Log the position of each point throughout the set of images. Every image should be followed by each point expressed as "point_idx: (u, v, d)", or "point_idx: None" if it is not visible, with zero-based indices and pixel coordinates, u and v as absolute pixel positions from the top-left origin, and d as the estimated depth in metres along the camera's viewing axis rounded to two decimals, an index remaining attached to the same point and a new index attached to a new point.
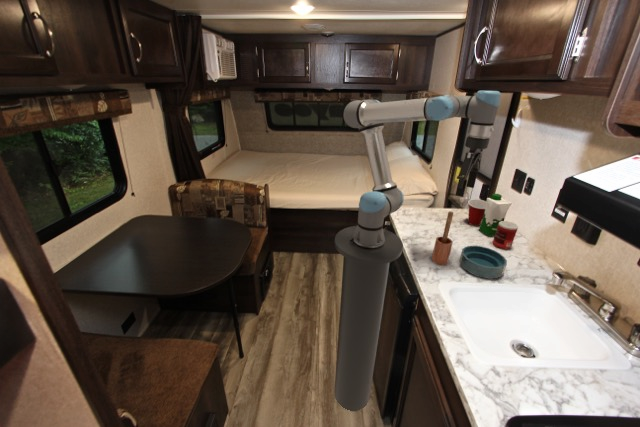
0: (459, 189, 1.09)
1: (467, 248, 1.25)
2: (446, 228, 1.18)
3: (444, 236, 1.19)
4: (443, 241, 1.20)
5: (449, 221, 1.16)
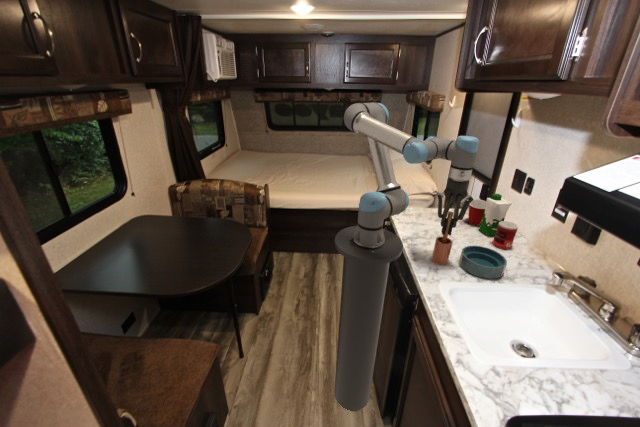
0: (442, 227, 1.19)
1: (467, 248, 1.25)
2: (446, 228, 1.18)
3: (444, 236, 1.19)
4: (443, 241, 1.20)
5: (449, 221, 1.16)
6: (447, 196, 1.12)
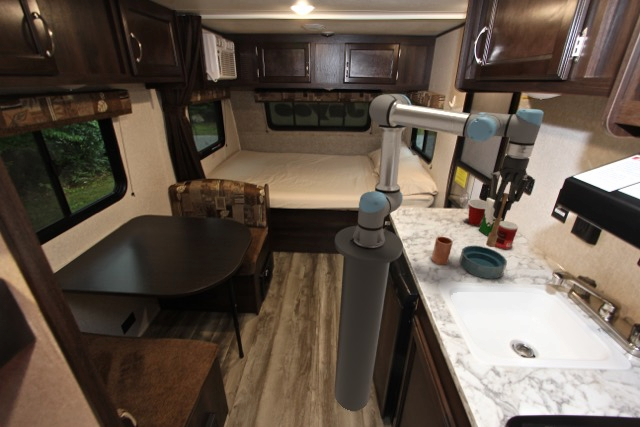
0: (495, 210, 1.11)
1: (467, 248, 1.25)
2: (500, 211, 1.09)
3: (497, 220, 1.11)
4: (495, 225, 1.12)
5: (504, 203, 1.08)
6: (503, 175, 1.04)
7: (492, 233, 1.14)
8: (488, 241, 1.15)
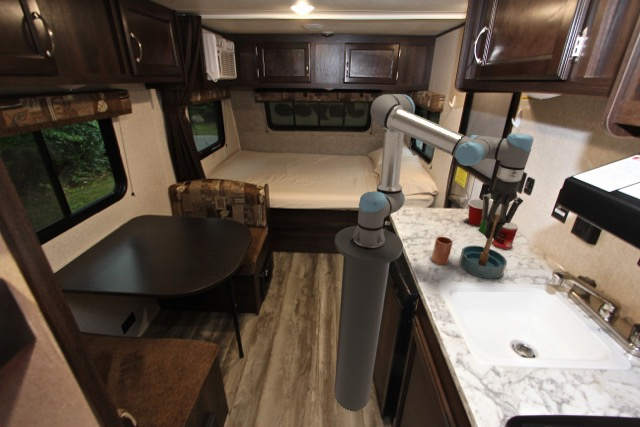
0: (487, 230, 1.12)
1: (467, 248, 1.25)
2: (491, 232, 1.11)
3: (488, 240, 1.12)
4: (487, 245, 1.13)
5: (495, 224, 1.09)
6: (494, 198, 1.05)
7: (484, 253, 1.15)
8: (480, 261, 1.16)
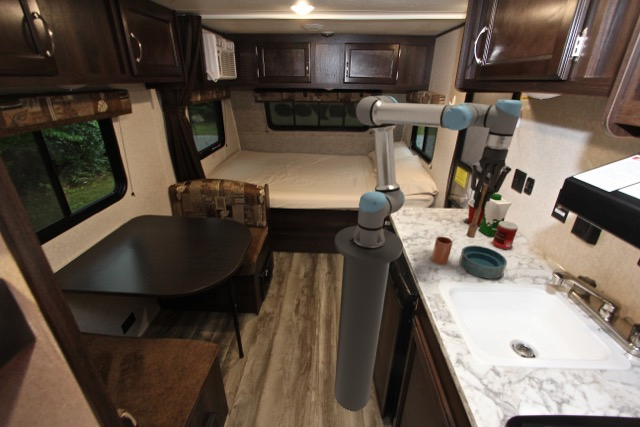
0: (475, 201, 1.11)
1: (467, 248, 1.25)
2: (479, 202, 1.10)
3: (477, 211, 1.12)
4: (475, 216, 1.13)
5: (483, 194, 1.09)
6: (483, 166, 1.04)
7: (472, 224, 1.15)
8: (468, 232, 1.16)
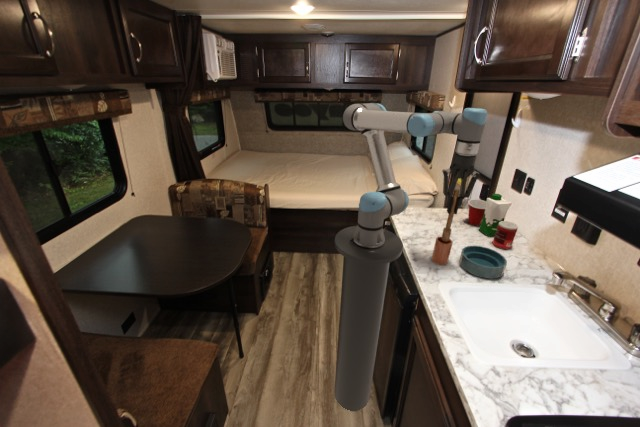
0: (448, 205, 1.15)
1: (467, 248, 1.25)
2: (452, 206, 1.14)
3: (450, 215, 1.15)
4: (449, 220, 1.16)
5: (455, 199, 1.12)
6: (453, 172, 1.08)
7: (446, 228, 1.18)
8: (443, 236, 1.19)
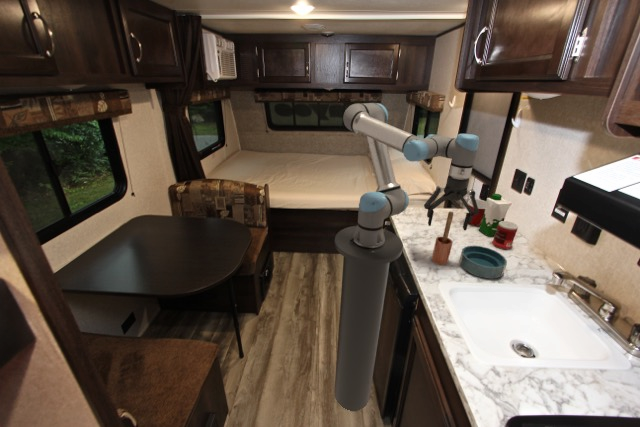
0: (429, 218, 1.19)
1: (467, 248, 1.25)
2: (446, 228, 1.18)
3: (444, 236, 1.19)
4: (443, 241, 1.20)
5: (449, 221, 1.16)
6: (447, 194, 1.12)
7: None
8: None
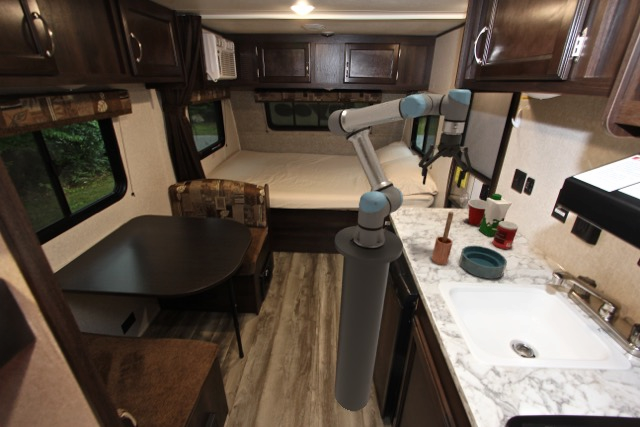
0: (423, 177, 1.21)
1: (467, 248, 1.25)
2: (446, 228, 1.18)
3: (444, 236, 1.19)
4: (443, 241, 1.20)
5: (449, 221, 1.16)
6: (440, 151, 1.14)
7: None
8: None
